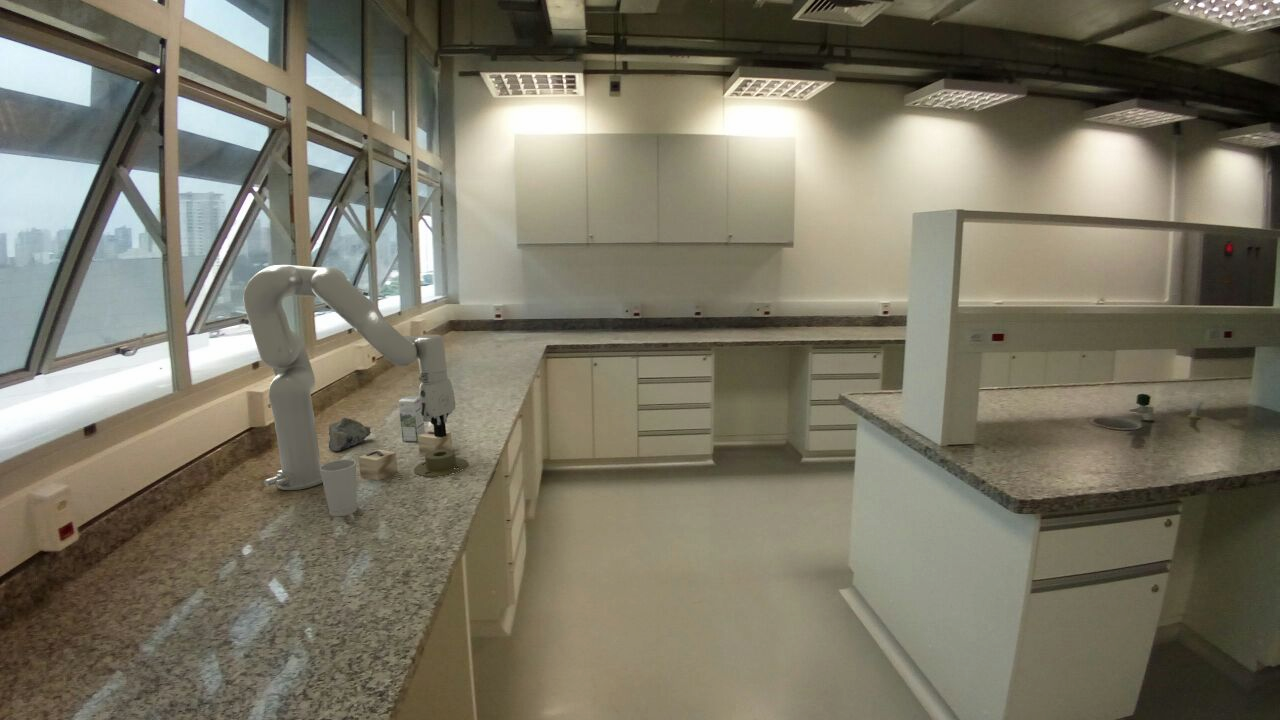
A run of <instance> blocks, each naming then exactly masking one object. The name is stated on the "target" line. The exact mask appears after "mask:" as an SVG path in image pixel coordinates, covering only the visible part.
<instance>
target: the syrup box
mask: <svg viewBox="0 0 1280 720" xmlns="http://www.w3.org/2000/svg"><path fill="white" fill-rule="evenodd" d="M398 410H399V419H400V428H401V429H400V430H401V440H402V442H408V443H410V442H413V443H415V442H416V443H419V441H418V435H421V434H424V433H426V430H425V422H424V421H423V416H422V415H421V411H420V400H419V396H404V397H402V398H401V399H399V400H398Z"/></svg>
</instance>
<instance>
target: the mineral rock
mask: <svg viewBox="0 0 1280 720" xmlns="http://www.w3.org/2000/svg"><path fill="white" fill-rule="evenodd" d="M371 429H372V428H371V427H370V426H367V425H366V426H365V425H364V424H363V423H362V422H359V421H357V420H355V419H352V418H347V417H343V418H341V420H339V421H338V422H333V423H330V424H329V425H328V435H329V441H328V448H329V450H330V451H332V452H341V450H345V449H348V448H350V447H351V446H352V447H353V446H355V445H357V444H360V443H362V442H363V441H364V440H365V439H366V438H367V437H369V436H370V435H371V433H372V432H371Z"/></svg>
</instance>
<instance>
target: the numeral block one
mask: <svg viewBox="0 0 1280 720" xmlns="http://www.w3.org/2000/svg"><path fill="white" fill-rule="evenodd" d="M452 440H453V439H452V432H451V431H448V430H446V436H444V437H442V438H441V437H435V435H434V429H432V430H430V431H427V432H426V431H425V433H424V434H421V435H418V450H419V454H420V453H423V454H422V455H425V454H427V453H428V452H431V451H434V450H439V449H452V450H453V443H452Z"/></svg>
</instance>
